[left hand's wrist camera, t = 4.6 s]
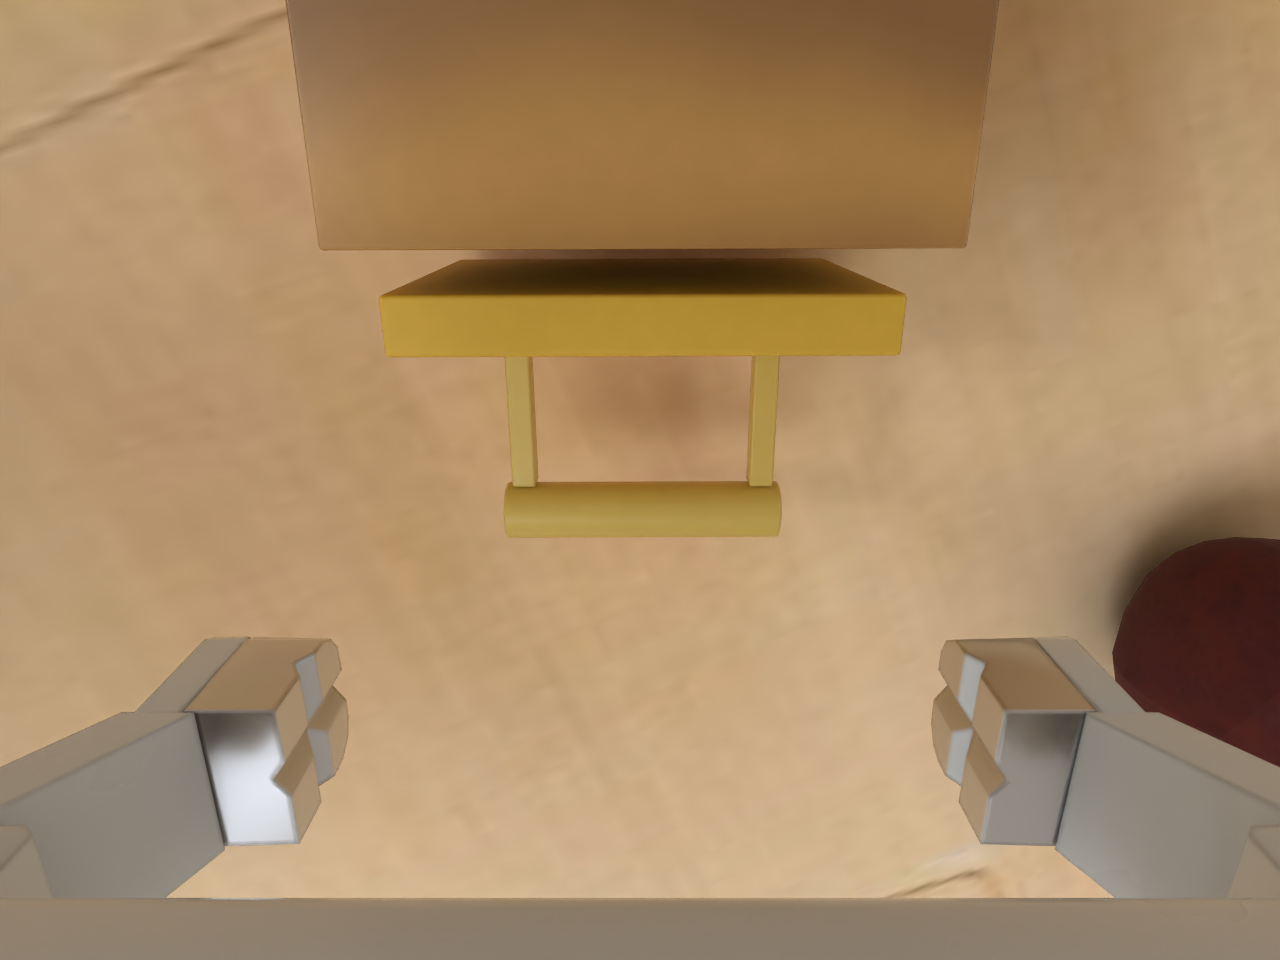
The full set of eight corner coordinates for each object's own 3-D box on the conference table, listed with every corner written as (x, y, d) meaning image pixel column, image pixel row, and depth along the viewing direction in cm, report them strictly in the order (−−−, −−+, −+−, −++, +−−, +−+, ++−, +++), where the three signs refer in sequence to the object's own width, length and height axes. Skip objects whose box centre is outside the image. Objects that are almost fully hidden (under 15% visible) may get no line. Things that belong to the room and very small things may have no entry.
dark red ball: (1348, 591, 27) (1581, 725, 20) (1158, 739, 29) (1312, 906, 22) (1212, 455, 25) (1418, 553, 18) (1021, 623, 27) (1144, 766, 21)
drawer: (807, 486, 25) (874, 606, 18) (476, 487, 25) (413, 608, 18) (884, -563, 17) (1061, -1097, 10) (394, -562, 17) (218, -1093, 10)
